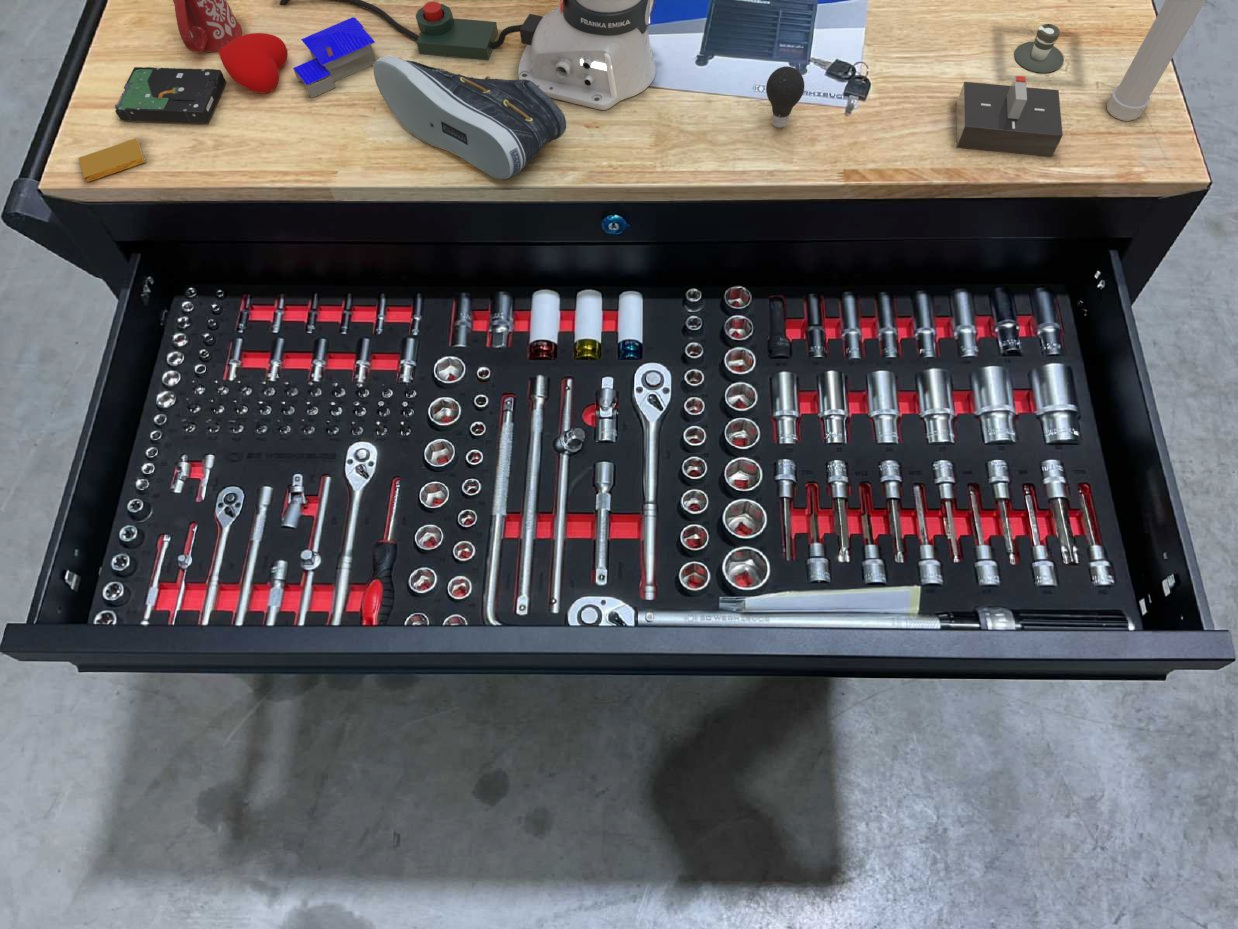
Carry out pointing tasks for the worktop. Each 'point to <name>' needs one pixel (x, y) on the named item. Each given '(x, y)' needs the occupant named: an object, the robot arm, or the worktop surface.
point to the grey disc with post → (1041, 51)
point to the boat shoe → (471, 114)
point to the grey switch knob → (1016, 97)
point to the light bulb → (784, 93)
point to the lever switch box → (1008, 120)
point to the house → (335, 55)
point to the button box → (455, 36)
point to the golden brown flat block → (111, 160)
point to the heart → (255, 60)
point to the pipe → (1153, 58)
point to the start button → (433, 11)
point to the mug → (206, 24)
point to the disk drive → (170, 95)
